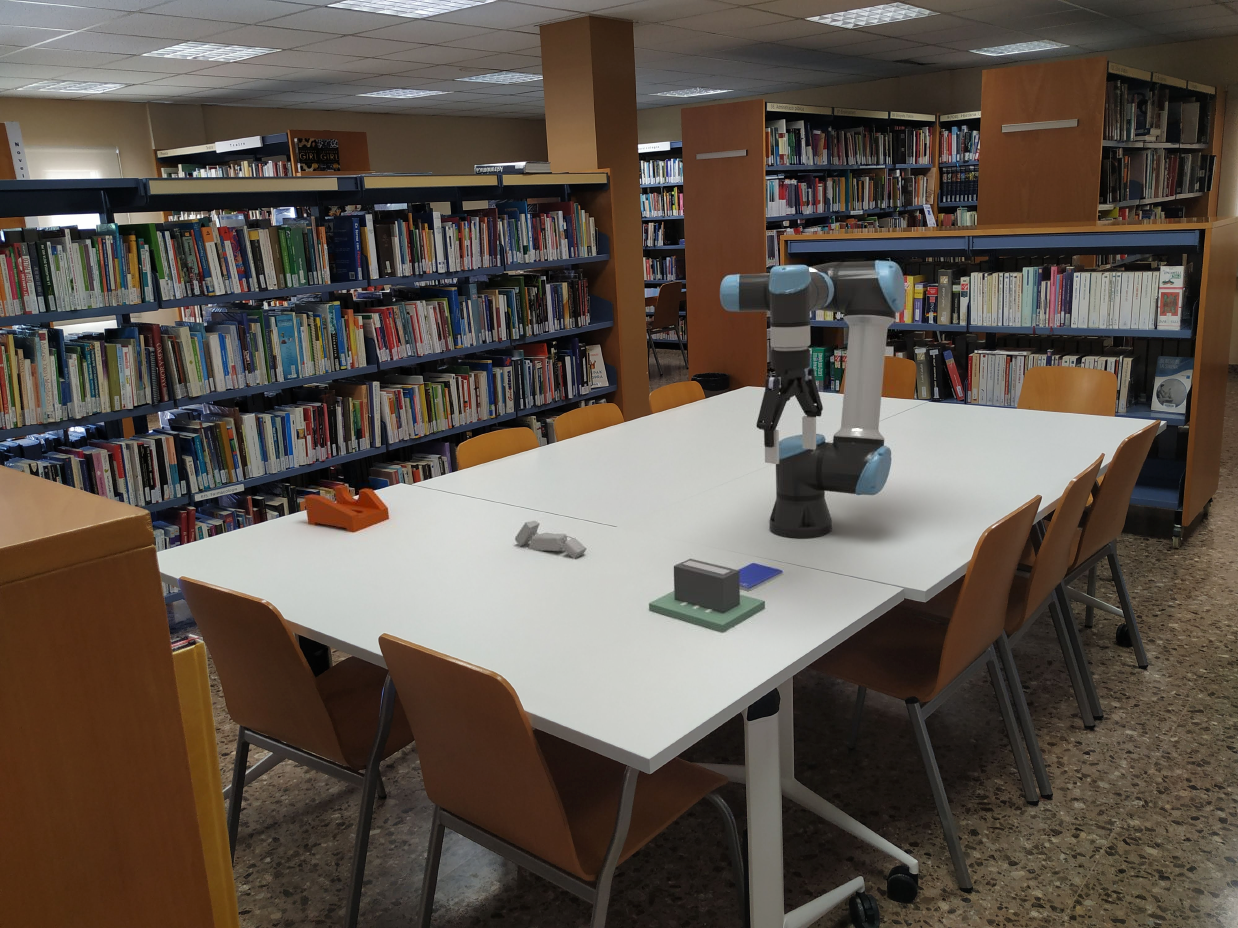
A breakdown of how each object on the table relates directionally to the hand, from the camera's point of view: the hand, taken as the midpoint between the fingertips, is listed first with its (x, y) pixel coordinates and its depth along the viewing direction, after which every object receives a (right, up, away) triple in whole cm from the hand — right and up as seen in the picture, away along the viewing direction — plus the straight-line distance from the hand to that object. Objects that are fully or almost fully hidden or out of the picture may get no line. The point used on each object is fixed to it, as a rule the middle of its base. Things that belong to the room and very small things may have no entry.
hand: (791, 455), depth 183 cm
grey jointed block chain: (-50, -23, +40) cm, 68 cm away
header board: (-17, -30, +1) cm, 35 cm away
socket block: (-17, -29, 0) cm, 33 cm away
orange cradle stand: (-108, -18, +72) cm, 131 cm away
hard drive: (-6, -27, +16) cm, 32 cm away
